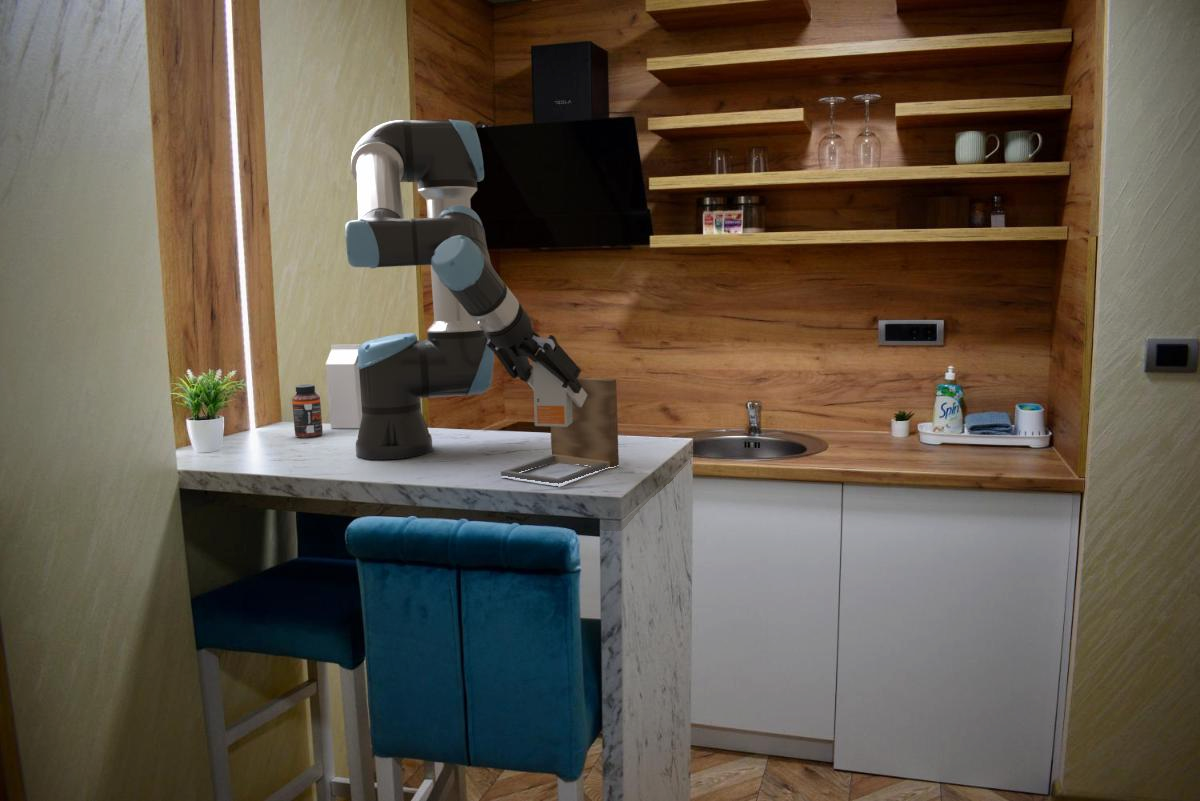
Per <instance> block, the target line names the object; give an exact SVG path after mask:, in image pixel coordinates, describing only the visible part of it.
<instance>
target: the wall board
mask: <svg viewBox="0 0 1200 801" xmlns="http://www.w3.org/2000/svg"><path fill="white" fill-rule="evenodd" d="M577 380H578V381H579V382H580V384H581V385H582V388H583V390H584V391H585V392H586V394H587V397H586V399H585V401H584V403H583V405H582V407H578V406H577V405H576V404H575V402H574V401H573V400H572V420H573V421H572V423H571V424H570V425H569V426H568V427H552V426H550V443H551V455H552V454H557V455H564V456H572V457H579V458H586V459H594V460H601V461H608V462H610V467H614V466H617V465H619V466H620V463H619V460H620V458H619V427H618V426H619V425H618V424H619V423H618V399H617V398H618V397H617V396H618V392H617V390H618V389H617V378H616V379H613V378H599V377H585V376H578V378H577Z"/></svg>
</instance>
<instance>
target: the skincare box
mask: <svg viewBox="0 0 1200 801" xmlns="http://www.w3.org/2000/svg"><path fill="white" fill-rule="evenodd" d="M569 357H570V358H571V359H572V357H571V356H569ZM532 366H533V368H532V371H533V386H534V391H533V407H534V410H533V412H534V427H551V426H552V427H568V426H569V425H570V424H571V423H572V421H573V420H572V399H571V397H570V396H569V395H568V393H567V392H566V391H565V390H564V388H563V387H562V386H561V384H562V381H561V380H559V379H558V378H557V377H556V376H554V375H553V374H552V373H551V372H550V371H548V370H547V369H546V368H545V367H543V366H542V365H541V364H540V363H539V362H536V363H535V362H533V361H532Z"/></svg>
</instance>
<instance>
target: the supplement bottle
mask: <svg viewBox="0 0 1200 801" xmlns="http://www.w3.org/2000/svg"><path fill="white" fill-rule="evenodd" d="M295 392H296V393H295V395H293V397H292V398H291V401H292V405H291V406H292V414H293V416H292V417H293V426H294V427H293V428H294V435H295V437H297V438H302V439H303V438H306V439H307V438H315V437H319V436H321V435H322V434H323V432H324V431H323V421H322V420H323V419H322V405H321V397H320V395H319V393H317V392H316V387H315V384H299V385H296V386H295Z"/></svg>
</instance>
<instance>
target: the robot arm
mask: <svg viewBox="0 0 1200 801" xmlns="http://www.w3.org/2000/svg"><path fill="white" fill-rule="evenodd" d="M481 147H482V146H481V142H480V138H479V135H478V132H477V128H476V127H475V125H474V124H473V123H472V122H470V121H468V120H458V119H451V118H450V119H425V120H423V119H420V120H419V119H418V120H400V119H398V120H391V121H390V120H389V121H386V122H383V123H381V124H379V125H377V126H375V127H373V128H372V129H371V130H369V131H368V132H366V133H365V134H364V135H362V136H361V138H360V139H359V141H357V143H356V144H355V146H354V148H353V151H352V153H351V158H350V168H351V174H352V175H353V178H354V179H355V181H356V183H357V184H356V186H357V188H356V189H357V219H354V220H353V219H352V220H349V221H347V222H346V224H345V225H344V230H345V247H346V255H347V263H348V264H349V265H350V266H351V267H354V268H370V269H377V268H389V267H390V268H391V267H393V268H394V267H408V266H409V267H411V266H412V267H413V266H414V267H415V266H430V274H431V278H430V279H431V291H432V292H431V293H432V304H433V306H432V307H433V309H432V310H433V323H432V324H431V326H429V327H428V329H427V330H426V333H427V334H426V335H427V339H425V340H424V339H423V340H421V339H420V340H419V339H418V336H417V335H416V333H413V332H408V333H398V334H391V335H388V336H387V335H386V336H383V337H379V338H373V339H371V340H367V341H364V342H362V344H360V347H359V349H358V366H357V368H358V369H359V376H360V391H361V405H362V420H361V424H360V428H358V433H357V434H358V435H357V439H356V440H355V455H356V456H357V457H359V458H362V459H365V458H366V460H377V459H382V460H383V459H384V460H385V459H386V460H398V459H405V458H406V459H408V458H412V457H417V456H421V455H425V454H427V453H430V452H431V451H433V449H434V448H433V437H432V435H431V434H430V432H429V429H428V425H427V422H426V420H425V418H424V414H423V412H422V402H421V401H422V399H429V398H431V399H432V398H444V397H457V396H459V397H460V396H464V397H468V396H471V395H480V394H485V393H486V392H488V390H489V389H490V387H491V386H492V385H491V384H492V381H493V376H494V375H493V374H494V364H495V356H496V357H497V359H498V361H499V362H500V363H501V364H502V366H503V368H504V369H505V370H506V372H507V373H508V375H509V376H510V377H511V378H512V379H517V378H519V379H520V380H521V381H522V382H525V384H527V385H528V387H529V388H530V389H531V390H532V391H533V392H534V386H533V364H532V365H531V363H530V360H531V361H532V363H533V362H535V363H536V362H539V363H540V364H541V365H542V366H543V367H545V368H546V369H547V370H548V371H550V372H551V373H552V374H553V375H554V376H556V377H557V378H558V379H559V380H561V381H562V384H561V386H562V387H563V388H564V390H565V391H566V392H567V393H568V395H569V396H570V397H571V399H572V400H573V401H574V402H575V404H576V405H577V406H578V407H582V405H583V403H584V401H585V399H586V397H587V394H586V392H585V391H584V390H583V388H582V385H581V384H580V382H579V381H578V380H577V378H578V377H580V375H581V372H582V369H581V368H580V367H579V366H578V365H577V364H576V363H575V361H574V360H573V359H572V357H571V356H570V355H568V353H567V352H566V351H565V350H564V349H563V348H562V347H561V346H560V345H559V344H558V343H559V342H558V341H557V338H556V337H555V336H554V335H552V334H549V335H548V336H547V338H546V337H541V336H540V334H539V333H537V332H536V331H535V330H533V326H532V319H531V317H530V315H529V314H528V313H527V311H526V310H525V309H524V308H523V306H522V305H521V304H520V303H519V300H518V299H517V297H516V296H515V295H514V293H513V292H512V291H511V290H510V288H509V287H508V286H507V285H506V283H504V281H503V280H502V279H501V277H500V276H499V274H498V273H497V271H496V270H495V269H494V267H493V265H492V263H491V259H490V258H491V257H490V254H489V251H488V245H487V240H486V232H485V229H484V226H483V222H482V220H481V218H480V216H479V215H478V214H477V212H476V211H474V210H473V209H472V207H471V206H472V205H471V199H472V197H473V196H474V195H475V193H476V192H477V191H478V183H479V182H481V181H483V180H484V178H485V169H484V158H483V152H482V148H481ZM477 182H478V183H477ZM401 183H416V186H417V192H418V194H420V196H421V197H422V198H424V200H425V202H426V215H427V216H426V218H425V217H423V218H421V217H420V218H419V217H418V218H405V216H404V208H403V198H402V191H401V190H402V188H401ZM570 357H571V358H570ZM382 460H381V461H382ZM384 460H383V461H384Z"/></svg>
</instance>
